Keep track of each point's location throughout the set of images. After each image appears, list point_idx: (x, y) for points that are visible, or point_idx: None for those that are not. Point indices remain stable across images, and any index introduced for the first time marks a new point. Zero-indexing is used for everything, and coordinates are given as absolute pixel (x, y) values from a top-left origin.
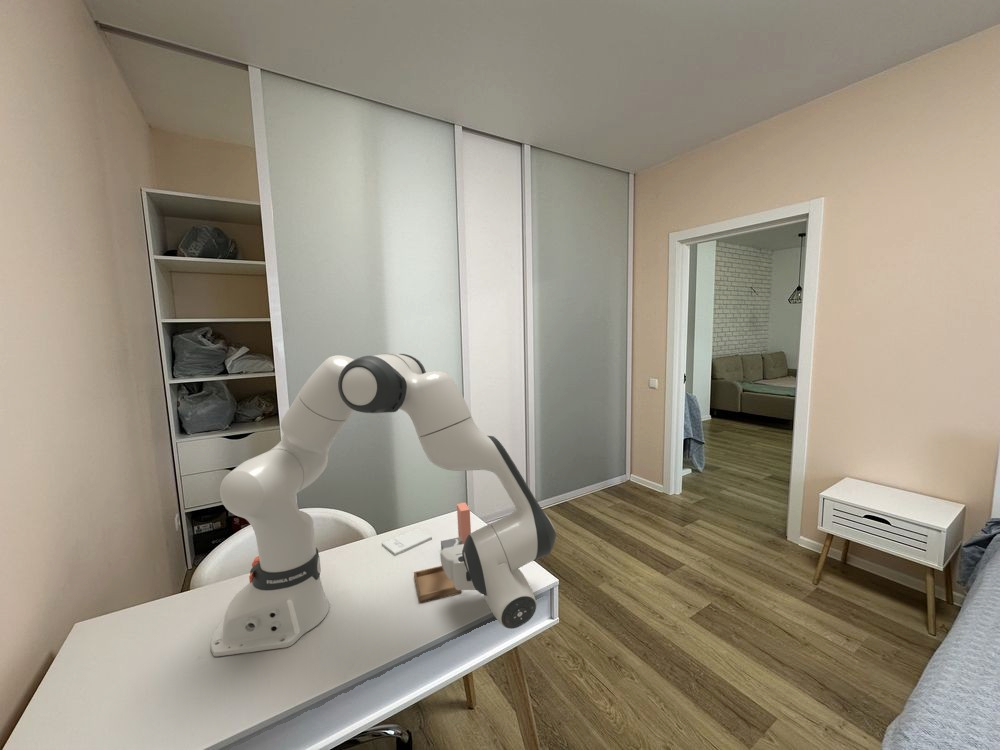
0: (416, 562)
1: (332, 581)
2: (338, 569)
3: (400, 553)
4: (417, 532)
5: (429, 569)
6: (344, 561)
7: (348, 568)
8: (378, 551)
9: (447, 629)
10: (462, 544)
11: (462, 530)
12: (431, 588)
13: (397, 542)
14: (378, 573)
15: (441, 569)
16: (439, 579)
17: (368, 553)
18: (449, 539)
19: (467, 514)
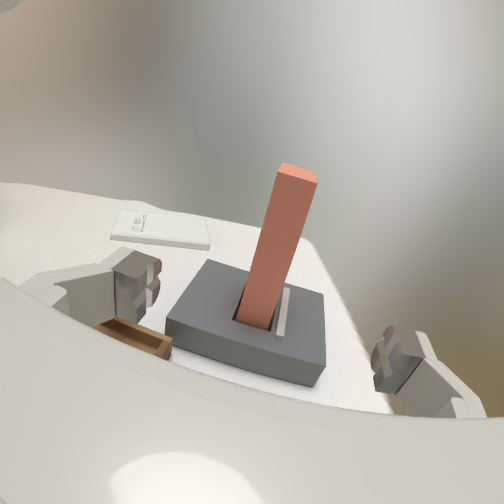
0: None
1: (3, 223)
2: (32, 213)
3: (123, 240)
4: (193, 224)
5: None
6: (53, 208)
7: (39, 218)
8: (104, 219)
9: None
10: (37, 307)
11: (257, 252)
12: None
13: (141, 220)
14: (47, 250)
15: (132, 334)
16: None
17: (89, 214)
18: (231, 267)
19: (300, 199)
